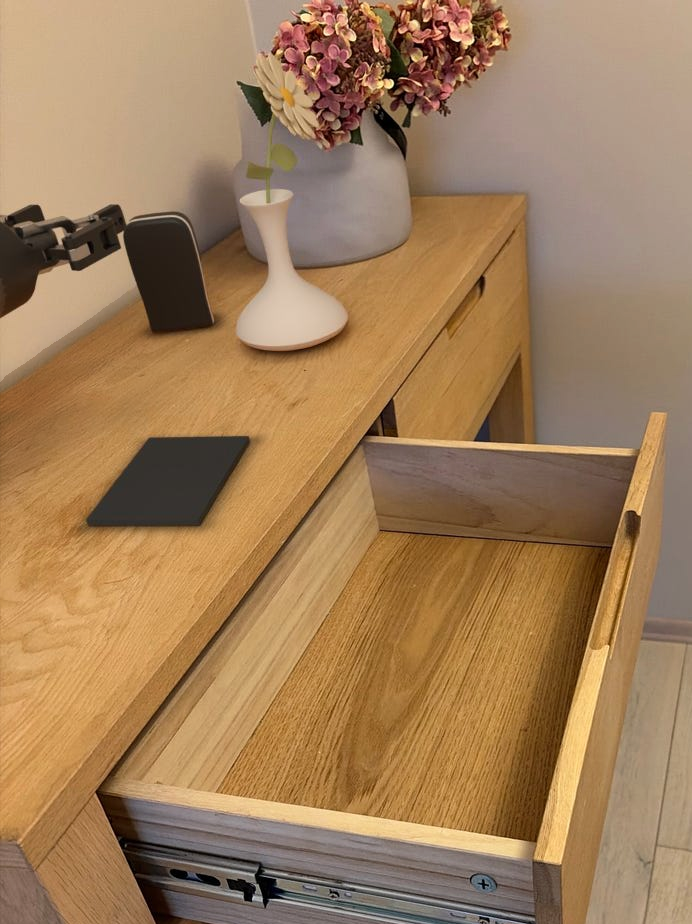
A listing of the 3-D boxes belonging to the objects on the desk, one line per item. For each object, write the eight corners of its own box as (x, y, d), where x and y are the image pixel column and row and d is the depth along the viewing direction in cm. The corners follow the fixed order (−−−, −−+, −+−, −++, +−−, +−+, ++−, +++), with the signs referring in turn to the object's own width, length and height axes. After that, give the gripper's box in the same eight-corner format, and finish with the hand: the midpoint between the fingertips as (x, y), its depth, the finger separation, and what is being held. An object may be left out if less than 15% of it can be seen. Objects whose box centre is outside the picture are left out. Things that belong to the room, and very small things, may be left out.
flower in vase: (302, 369, 94) (242, 75, 79) (216, 351, 100) (143, 71, 84) (382, 320, 103) (342, 44, 87) (298, 305, 108) (246, 42, 92)
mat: (88, 526, 75) (85, 519, 75) (150, 443, 85) (148, 437, 85) (199, 526, 74) (197, 519, 74) (250, 441, 84) (248, 435, 83)
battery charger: (218, 314, 108) (190, 204, 100) (215, 327, 105) (186, 215, 97) (154, 322, 107) (122, 212, 100) (149, 335, 104) (116, 224, 97)
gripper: (15, 230, 73) (134, 170, 84) (-136, 229, 76) (-2, 172, 88) (52, 329, 77) (160, 258, 89) (-92, 323, 81) (29, 257, 93)
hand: (79, 215), depth 89 cm, fingers open, 8 cm apart
